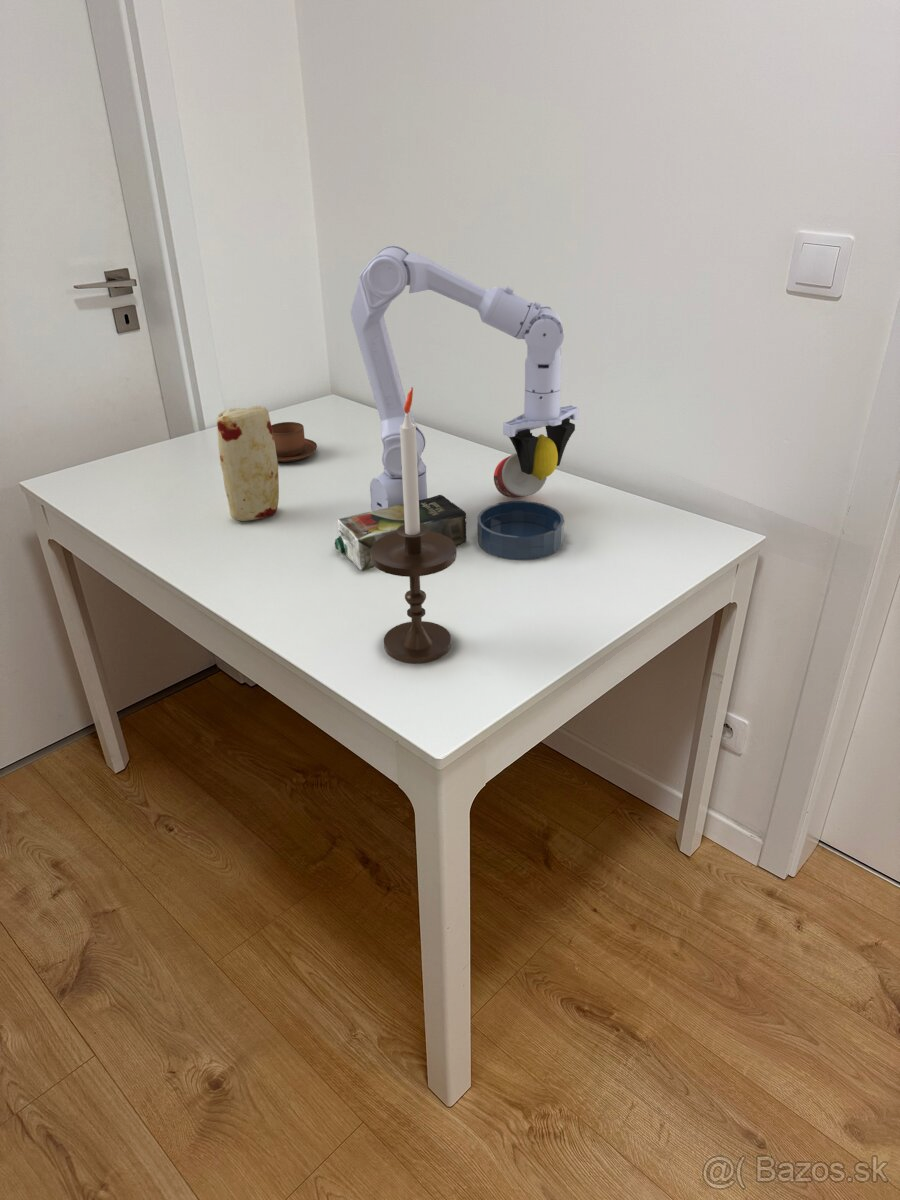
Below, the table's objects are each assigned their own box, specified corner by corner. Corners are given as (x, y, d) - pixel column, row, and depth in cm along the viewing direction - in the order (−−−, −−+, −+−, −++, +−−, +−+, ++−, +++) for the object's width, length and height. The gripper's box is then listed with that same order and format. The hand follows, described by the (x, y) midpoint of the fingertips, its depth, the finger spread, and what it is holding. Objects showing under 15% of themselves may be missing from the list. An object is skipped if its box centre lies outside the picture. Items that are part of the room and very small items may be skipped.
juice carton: (355, 574, 131) (352, 538, 128) (332, 549, 139) (329, 515, 136) (468, 545, 139) (468, 511, 136) (440, 524, 147) (439, 491, 144)
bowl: (513, 568, 132) (514, 545, 130) (460, 536, 142) (460, 515, 140) (580, 543, 139) (582, 521, 137) (525, 515, 149) (526, 494, 147)
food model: (236, 529, 146) (218, 417, 136) (224, 516, 151) (205, 406, 141) (289, 516, 150) (275, 406, 140) (275, 503, 155) (261, 396, 145)
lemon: (557, 473, 145) (558, 429, 141) (556, 486, 140) (558, 440, 136) (525, 473, 146) (525, 428, 142) (523, 486, 141) (523, 440, 137)
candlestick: (451, 619, 119) (446, 371, 101) (464, 662, 110) (460, 398, 92) (374, 627, 118) (355, 377, 100) (380, 671, 108) (361, 404, 91)
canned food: (484, 483, 155) (493, 480, 144) (509, 446, 154) (520, 441, 144) (518, 506, 156) (530, 505, 145) (542, 470, 155) (556, 466, 145)
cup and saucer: (253, 451, 179) (249, 423, 176) (308, 442, 183) (305, 415, 180) (268, 470, 170) (263, 441, 166) (325, 460, 174) (322, 431, 171)
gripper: (523, 403, 129) (521, 485, 136) (593, 385, 136) (588, 465, 143) (494, 392, 134) (495, 473, 141) (563, 376, 141) (560, 453, 148)
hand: (540, 468), depth 142 cm, fingers closed on lemon, 5 cm apart
